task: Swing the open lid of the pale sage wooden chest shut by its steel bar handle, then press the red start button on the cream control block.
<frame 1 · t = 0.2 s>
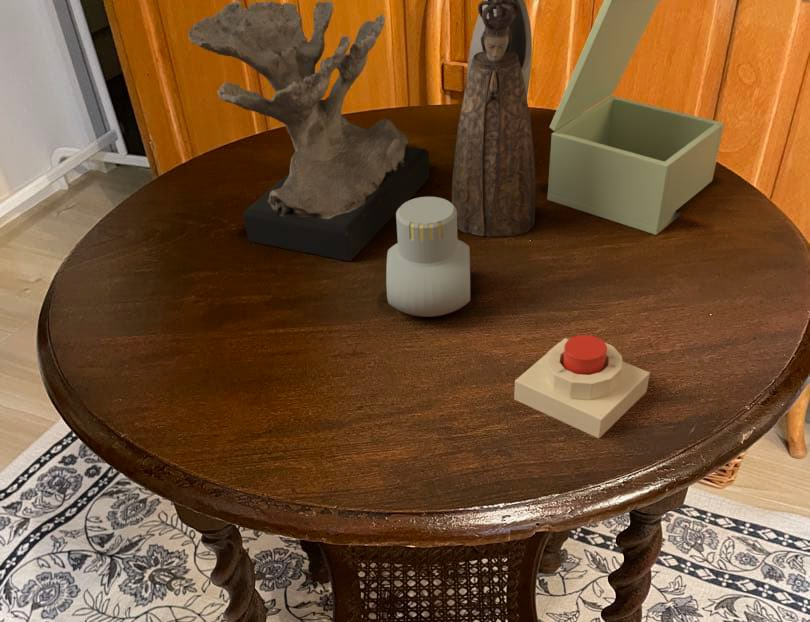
lid: (596, 35, 93), point 16 cm above the table, hinge at 68.0°
coral: (315, 212, 105), on the table
button: (584, 355, 75), point 4 cm above the table, slide at 0.1 cm
air freshener: (430, 302, 90), on the table
control block: (580, 395, 78), on the table
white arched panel: (497, 152, 112), on the table
statue: (491, 227, 100), on the table
chest: (628, 195, 102), on the table
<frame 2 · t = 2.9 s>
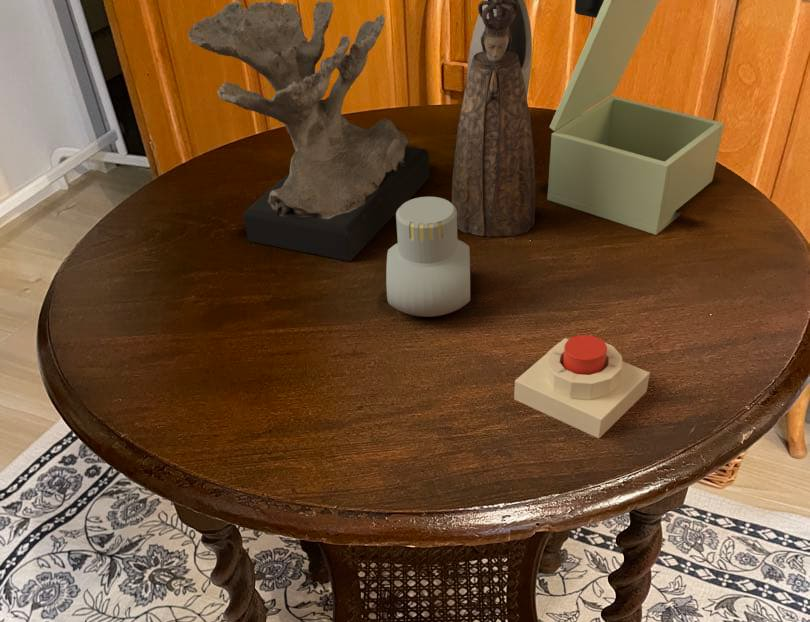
hand: (604, 4, 91), 19 cm above the table, tool pointing down, fingers closed on lid, 5 cm apart
lid: (596, 35, 93), point 16 cm above the table, hinge at 68.0°, touching gripper
everything else where it was.
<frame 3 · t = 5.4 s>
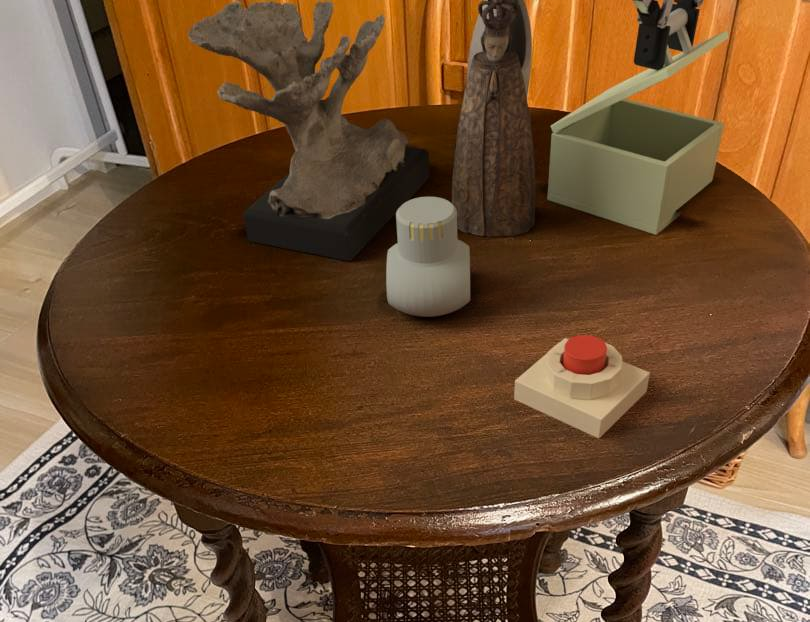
hand: (662, 55, 90), 16 cm above the table, tool pointing down, fingers closed on lid, 5 cm apart
lid: (629, 63, 93), point 14 cm above the table, hinge at 32.6°, touching gripper
everything else where it was.
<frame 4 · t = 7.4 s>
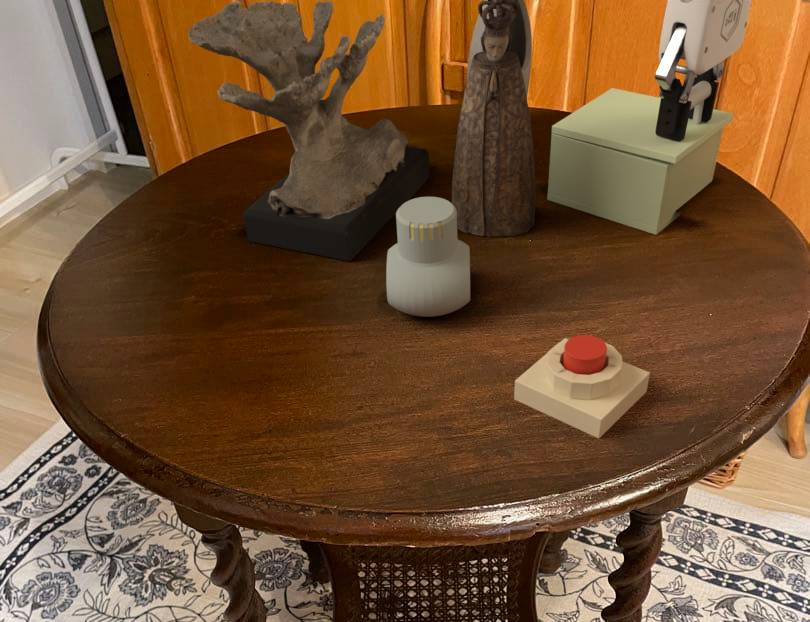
hand: (683, 126, 93), 9 cm above the table, tool pointing down, fingers closed on lid, 5 cm apart
lid: (643, 103, 94), point 11 cm above the table, hinge at 1.3°, touching gripper
everything else where it was.
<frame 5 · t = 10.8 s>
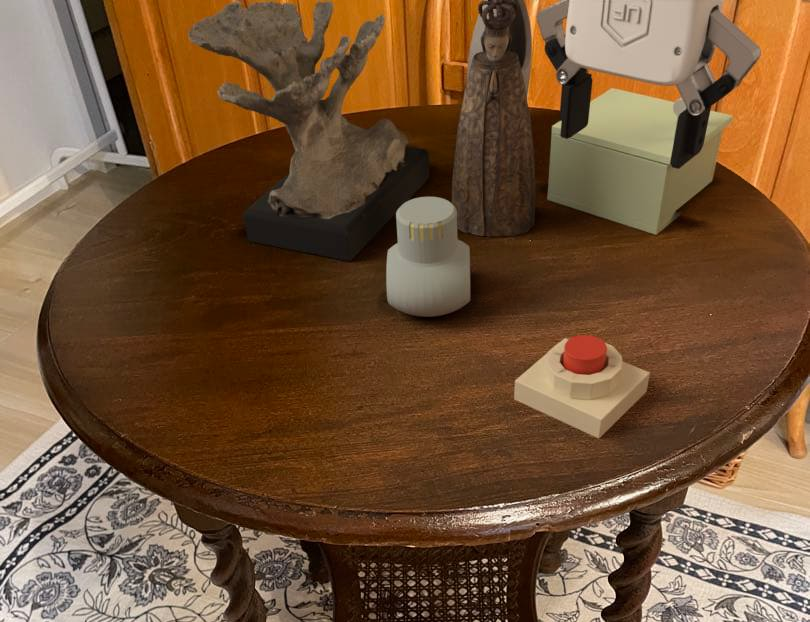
hand: (626, 146, 68), 20 cm above the table, tool pointing down, fingers open, 9 cm apart
lid: (644, 104, 95), point 10 cm above the table, hinge at 0.4°
everything else where it was.
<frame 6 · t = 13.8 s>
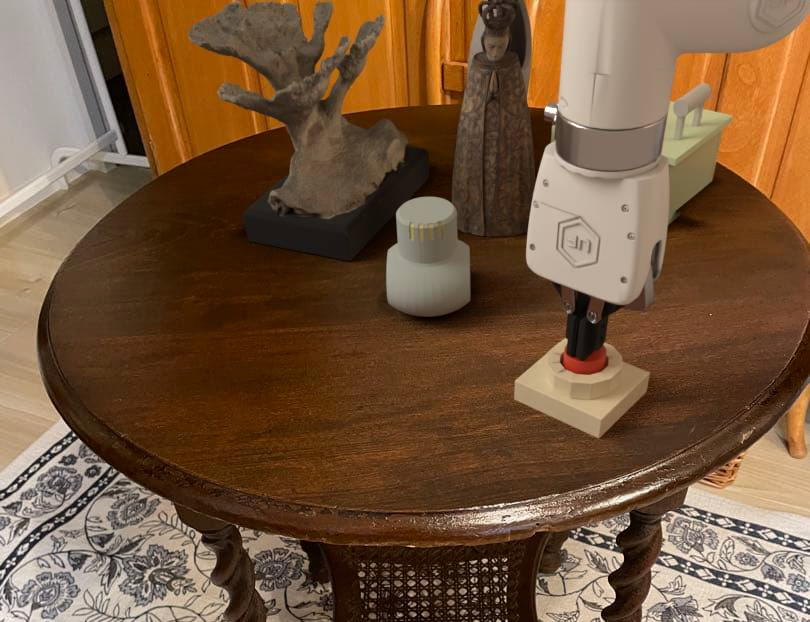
hand: (583, 350, 74), 5 cm above the table, tool pointing down, fingers closed
button: (584, 358, 75), point 4 cm above the table, slide at -0.2 cm, touching gripper
everything else where it was.
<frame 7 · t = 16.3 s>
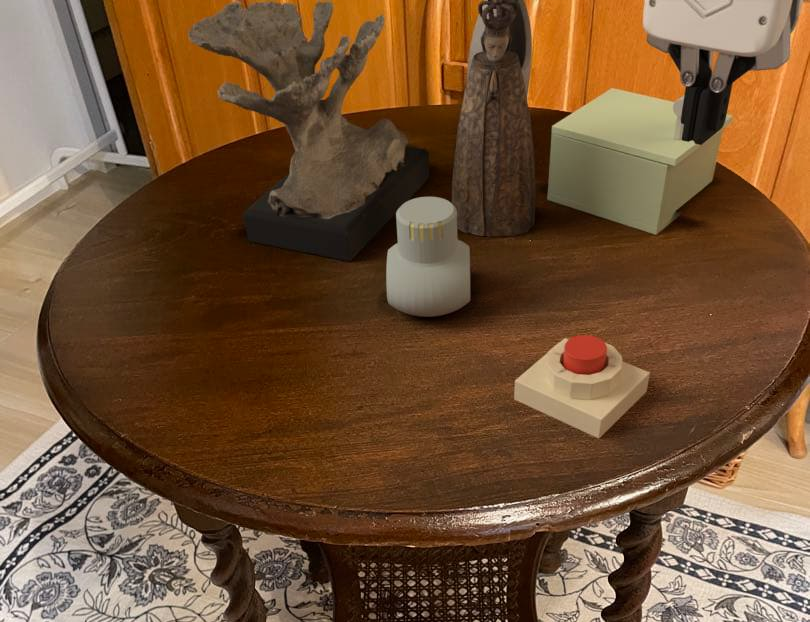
hand: (700, 136, 68), 20 cm above the table, tool pointing down, fingers closed
button: (584, 355, 75), point 4 cm above the table, slide at 0.1 cm
everything else where it was.
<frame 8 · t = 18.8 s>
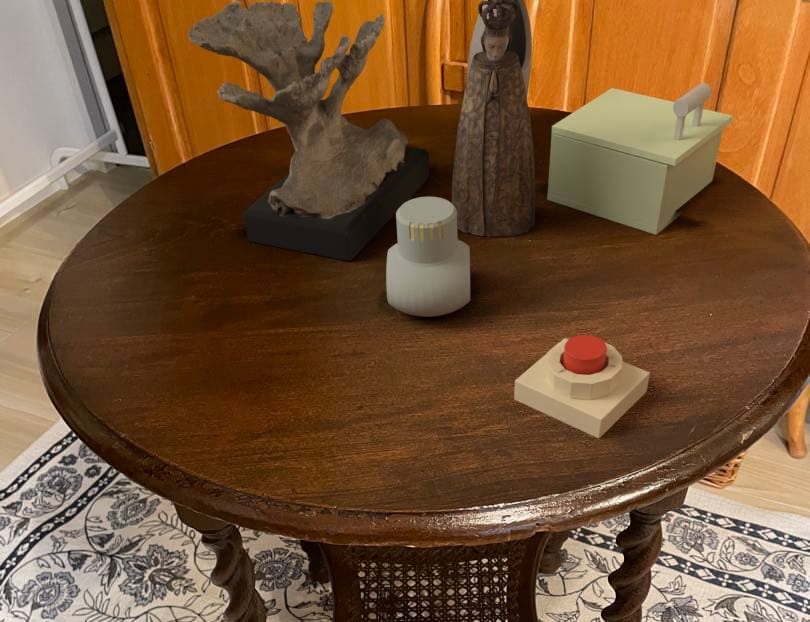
nothing on the table moved.
at the end: lid at +0° (first picture: +68°); button pushed in 1.1 cm at the most during the clip, back to where it started at the end; button slide at 0.1 cm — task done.
